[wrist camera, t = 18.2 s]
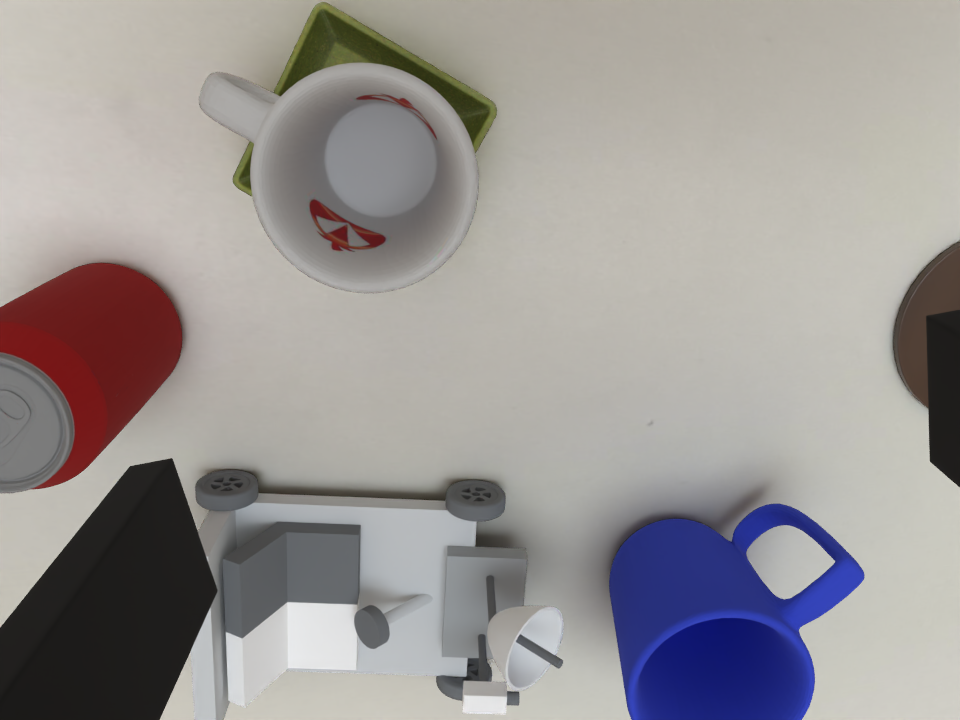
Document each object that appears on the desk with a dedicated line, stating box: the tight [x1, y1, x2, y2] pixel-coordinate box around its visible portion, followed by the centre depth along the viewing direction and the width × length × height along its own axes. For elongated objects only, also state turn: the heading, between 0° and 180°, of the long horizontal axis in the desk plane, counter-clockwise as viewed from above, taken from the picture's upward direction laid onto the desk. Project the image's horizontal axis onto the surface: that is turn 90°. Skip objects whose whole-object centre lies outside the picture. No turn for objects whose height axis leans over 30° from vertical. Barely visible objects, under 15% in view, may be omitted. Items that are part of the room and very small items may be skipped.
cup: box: [199, 63, 479, 293], centre depth 34 cm, size 11×8×8 cm
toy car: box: [191, 470, 563, 720], centre depth 42 cm, size 18×10×12 cm
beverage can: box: [0, 263, 182, 493], centre depth 37 cm, size 7×7×12 cm
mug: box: [609, 504, 864, 720], centre depth 42 cm, size 8×12×10 cm
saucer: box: [233, 2, 497, 197], centre depth 39 cm, size 9×9×2 cm
